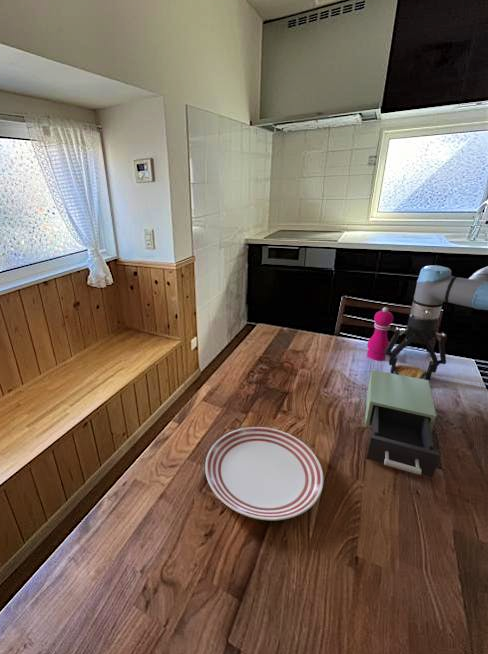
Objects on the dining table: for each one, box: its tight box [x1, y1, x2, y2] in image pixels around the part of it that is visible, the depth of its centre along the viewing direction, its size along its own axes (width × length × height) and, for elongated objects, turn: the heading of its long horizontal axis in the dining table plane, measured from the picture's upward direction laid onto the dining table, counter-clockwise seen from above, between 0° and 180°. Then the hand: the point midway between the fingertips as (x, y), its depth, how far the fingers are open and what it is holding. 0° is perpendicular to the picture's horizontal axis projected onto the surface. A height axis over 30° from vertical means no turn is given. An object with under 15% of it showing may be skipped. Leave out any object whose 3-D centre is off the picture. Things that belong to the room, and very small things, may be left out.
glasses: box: [245, 354, 295, 393], centre depth 117 cm, size 13×13×5 cm
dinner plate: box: [204, 426, 324, 522], centre depth 81 cm, size 27×27×3 cm
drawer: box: [365, 405, 441, 479], centre depth 83 cm, size 20×14×7 cm
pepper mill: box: [366, 306, 394, 361], centre depth 123 cm, size 7×7×20 cm
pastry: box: [394, 364, 427, 380], centre depth 113 cm, size 9×7×4 cm
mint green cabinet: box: [364, 369, 437, 433], centre depth 96 cm, size 17×15×9 cm
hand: (409, 376), depth 114 cm, fingers closed on pastry, 9 cm apart
